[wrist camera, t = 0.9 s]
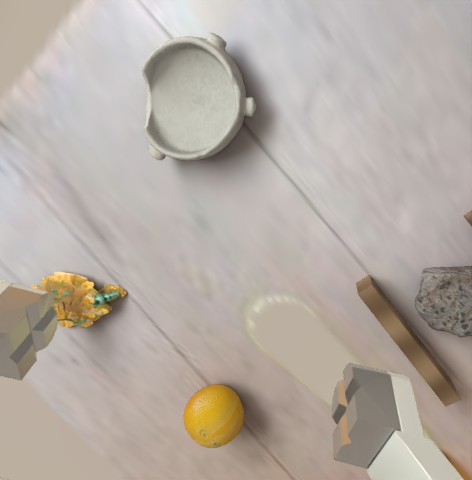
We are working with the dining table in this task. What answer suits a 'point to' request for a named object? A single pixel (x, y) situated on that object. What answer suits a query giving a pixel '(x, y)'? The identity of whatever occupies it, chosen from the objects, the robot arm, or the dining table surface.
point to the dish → (193, 98)
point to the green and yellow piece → (78, 298)
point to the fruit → (214, 416)
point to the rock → (447, 299)
